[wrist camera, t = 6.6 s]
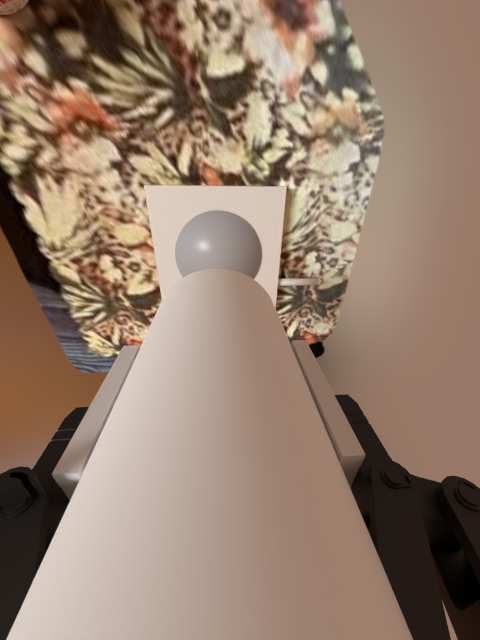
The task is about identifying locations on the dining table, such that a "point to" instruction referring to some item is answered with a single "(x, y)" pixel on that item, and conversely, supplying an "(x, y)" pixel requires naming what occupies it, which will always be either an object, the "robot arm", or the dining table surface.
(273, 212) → the pad
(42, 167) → the dining table surface
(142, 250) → the dining table surface
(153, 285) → the dining table surface
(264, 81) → the dining table surface
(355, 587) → the cup
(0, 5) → the teacup with lid
